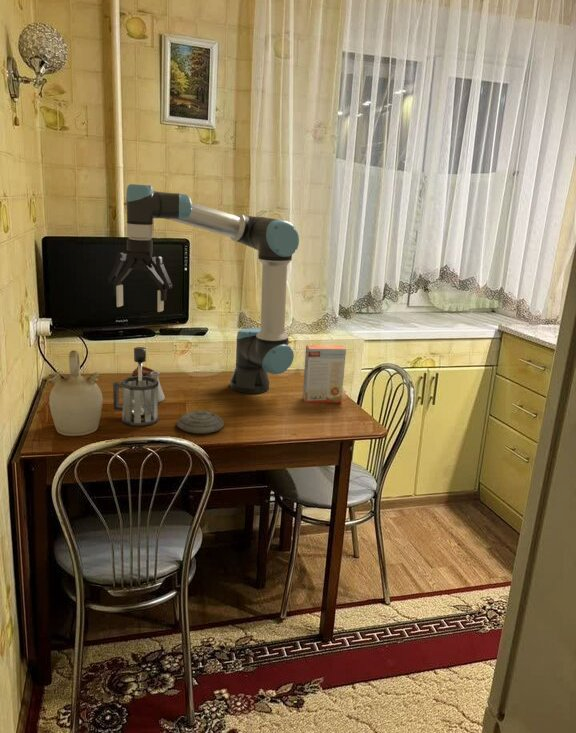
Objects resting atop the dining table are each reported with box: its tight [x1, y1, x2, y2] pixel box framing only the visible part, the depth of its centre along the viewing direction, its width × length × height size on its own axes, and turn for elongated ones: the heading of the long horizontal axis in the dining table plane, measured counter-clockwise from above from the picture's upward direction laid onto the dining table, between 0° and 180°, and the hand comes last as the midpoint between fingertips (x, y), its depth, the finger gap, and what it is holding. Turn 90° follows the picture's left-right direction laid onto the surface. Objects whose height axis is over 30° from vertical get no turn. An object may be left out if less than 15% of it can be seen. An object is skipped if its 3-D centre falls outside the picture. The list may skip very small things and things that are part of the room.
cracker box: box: [302, 344, 347, 404], centre depth 223 cm, size 14×6×21 cm, turn 99°
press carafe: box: [112, 375, 159, 428], centre depth 195 cm, size 15×12×13 cm
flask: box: [150, 371, 166, 403], centre depth 213 cm, size 7×7×10 cm
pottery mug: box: [131, 365, 156, 386], centre depth 228 cm, size 12×10×8 cm
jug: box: [48, 350, 103, 437], centre depth 182 cm, size 15×16×25 cm
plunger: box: [132, 346, 152, 416], centre depth 192 cm, size 8×8×21 cm
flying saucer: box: [176, 410, 225, 434], centre depth 193 cm, size 15×15×6 cm
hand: (140, 308), depth 186 cm, fingers open, 13 cm apart
